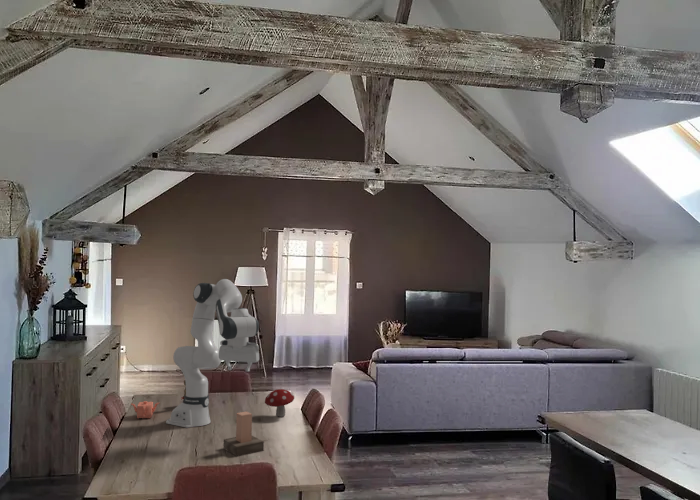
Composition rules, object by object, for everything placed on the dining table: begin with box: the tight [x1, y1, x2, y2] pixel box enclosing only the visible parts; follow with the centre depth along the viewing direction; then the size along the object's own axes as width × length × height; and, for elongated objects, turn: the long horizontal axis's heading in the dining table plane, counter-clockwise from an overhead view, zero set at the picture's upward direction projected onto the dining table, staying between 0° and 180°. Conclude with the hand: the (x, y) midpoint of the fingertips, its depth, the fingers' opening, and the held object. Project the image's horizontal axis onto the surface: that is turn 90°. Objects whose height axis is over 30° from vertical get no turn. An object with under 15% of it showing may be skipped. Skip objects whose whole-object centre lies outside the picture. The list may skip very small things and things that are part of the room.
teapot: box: [130, 400, 160, 419], centre depth 316 cm, size 12×15×8 cm
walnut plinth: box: [223, 435, 265, 457], centre depth 267 cm, size 13×13×4 cm
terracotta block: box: [235, 411, 253, 443], centre depth 267 cm, size 5×5×12 cm
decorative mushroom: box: [264, 388, 295, 417], centre depth 320 cm, size 16×16×15 cm
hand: (238, 370), depth 287 cm, fingers open, 8 cm apart
